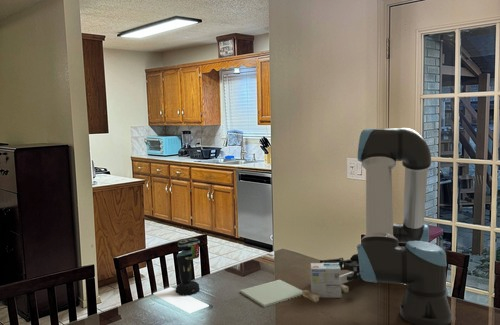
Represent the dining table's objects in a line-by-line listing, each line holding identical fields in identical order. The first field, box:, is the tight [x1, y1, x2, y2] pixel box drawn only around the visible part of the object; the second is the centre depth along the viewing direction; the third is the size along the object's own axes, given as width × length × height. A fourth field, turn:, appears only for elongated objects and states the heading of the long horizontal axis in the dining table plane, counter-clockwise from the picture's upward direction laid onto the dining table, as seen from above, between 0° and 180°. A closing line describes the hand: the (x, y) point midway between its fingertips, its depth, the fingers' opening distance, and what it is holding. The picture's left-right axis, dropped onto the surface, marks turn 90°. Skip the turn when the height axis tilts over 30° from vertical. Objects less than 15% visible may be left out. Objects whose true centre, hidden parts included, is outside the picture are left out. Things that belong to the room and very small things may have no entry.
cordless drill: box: [175, 237, 201, 296], centre depth 167 cm, size 9×12×20 cm
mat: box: [239, 279, 304, 308], centre depth 163 cm, size 16×18×1 cm
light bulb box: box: [310, 262, 342, 299], centre depth 161 cm, size 11×7×11 cm, turn 84°
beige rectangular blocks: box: [302, 283, 350, 303], centre depth 161 cm, size 7×16×2 cm, turn 122°
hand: (325, 275), depth 161 cm, fingers open, 13 cm apart
